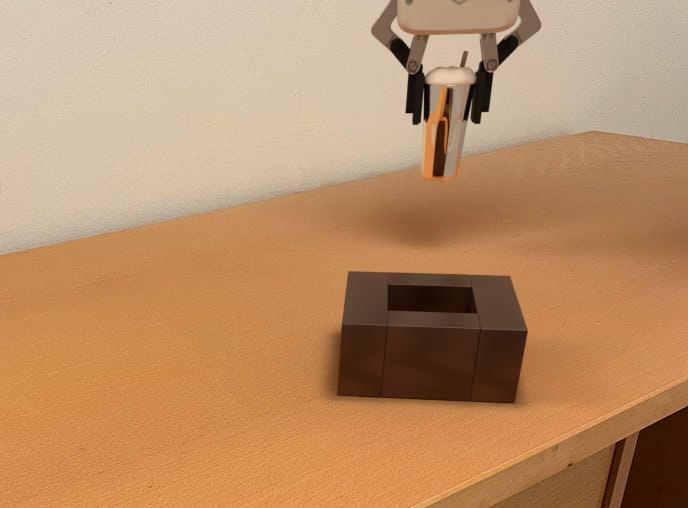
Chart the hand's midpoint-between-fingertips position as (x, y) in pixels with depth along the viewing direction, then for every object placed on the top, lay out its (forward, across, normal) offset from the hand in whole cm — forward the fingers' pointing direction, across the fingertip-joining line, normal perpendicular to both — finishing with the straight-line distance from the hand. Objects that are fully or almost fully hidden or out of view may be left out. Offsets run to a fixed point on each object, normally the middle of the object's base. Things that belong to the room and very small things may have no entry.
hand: (445, 119), depth 89 cm
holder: (+12, -2, -31) cm, 33 cm away
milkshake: (+5, 0, 0) cm, 5 cm away
